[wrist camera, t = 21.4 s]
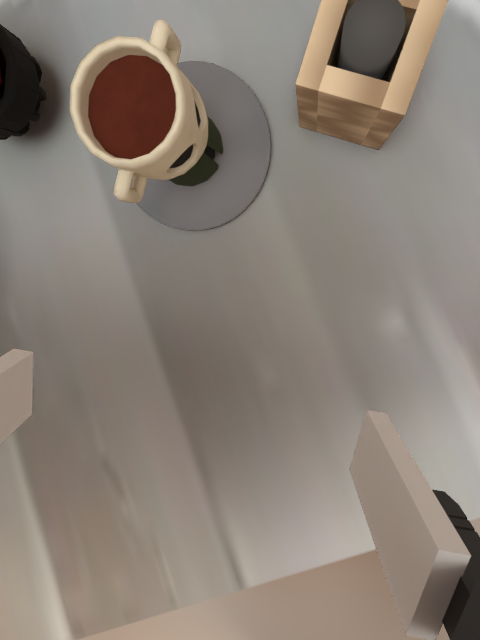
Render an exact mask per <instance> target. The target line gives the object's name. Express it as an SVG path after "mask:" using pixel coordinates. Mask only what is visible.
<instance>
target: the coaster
mask: <svg viewBox="0 0 480 640" xmlns="http://www.w3.org/2000/svg"><path fill="white" fill-rule="evenodd" d="M177 67H178V68H179V69H180V70H181V71H182V72H183V73H184V75H185V76H186V77H187V78H188V79H189V81H190V82H191V83H192V85H193V86H194V87H195V89H196V90H197V91H198V92H199V94H200V96H201V99H202V101H203V103H204V106H205V110H206V114H207V116H208V117H209V118H210V119H212V121H213V122H214V124H215V126H216V127H217V129H218V130H219V132H220V134H221V138H222V145H223V153H222V154H220V153H219V152H217V151H215V158H214V159H213V161H215V162H216V163H217V164H218V165H219V167H218V170H217V171H216V172H215V173H214V174H213V175H212V176H211V177H210V178H209V179H208V180H207V181H205V182H203V183H200V184H198V185H195V186H193V187H192V186H183V185H176V184H174V183H173V182H171V181H170V180H157V179H147V183H146V187H145V191H144V194H143V197H142V199H141V201H140V202H138V203H137V205H138V206H139V207H140V208H141V209H142V210H143V211H144V212H146V213H147V214H148V215H149V216H151V217H152V218H154V219H155V220H157V221H159V222H161V223H163V224H165V225H168V226H170V227H174V228H178V229H184V230H206V229H212V228H215V227H218V226H221V225H223V224H225V223H228V222H230V221H231V220H233V219H234V218H236V217H237V216H239V215H240V214H241V213H242V212H243V211H245V210H246V209H247V208H248V206H249V205H250V204H251V203H252V202H253V201H254V199H255V198H256V196H257V195H258V193H259V191H260V190H261V188H262V186H263V184H264V181H265V178H266V176H267V173H268V169H269V164H270V157H271V138H270V131H269V127H268V123H267V119H266V117H265V114H264V112H263V109H262V107H261V105H260V103H259V101H258V99H257V98H256V96H255V94H254V93H253V92H252V90H251V89H250V88H249V87H248V86H247V85H246V84H245V83H244V82H243V81H242V80H241V79H240V78H239V77H238V76H236V75H235V74H234V73H232V72H230V71H229V70H227V69H225V68H223V67H220V66H218V65H215V64H212V63H207V62H199V61H189V62H181V63H178V65H177ZM133 177H134V174H133ZM132 181H133V178H132ZM131 185H132V182H131ZM130 188H131V186H130Z"/></svg>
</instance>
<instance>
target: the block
mask: <svg viewBox="0 0 480 640" xmlns="http://www.w3.org/2000/svg"><path fill="white" fill-rule="evenodd" d="M356 1H357V0H322V1H321V4H320V7H319V10H318V13H317V17H316V20H315V23H314V26H313V29H312V33H311V36H310V39H309V42H308V46H307V49H306V52H305V55H304V58H303V62H302V65H301V68H300V71H299V74H298V78H297V81H296V84H295V85H296V94H297V104H298V114H299V123H300V127H302V128H306V129H309V130H313V131H316V132H319V133H323V134H326V135H330V136H333V137H336V138H340V139H343V140H347V141H350V142H353V143H357V144H360V145H364V146H367V147H370V148H374V149H377V150H379V149H380V148H381V146H382V145H383V144H384V142H385V141H386V140H387V138H388V137H389V136H390V134H391V133H392V132H393V130H394V129H395V128H396V126H397V125H398V124H399V122H400V121H401V120H402V118H403V117H404V116H405V114H406V111H407V108H408V106H409V103H410V100H411V98H412V95H413V92H414V90H415V87H416V84H417V82H418V79H419V76H420V74H421V71H422V68H423V66H424V63H425V61H426V58H427V55H428V53H429V50H430V47H431V45H432V42H433V39H434V37H435V34H436V31H437V29H438V26H439V23H440V21H441V18H442V15H443V13H444V10H445V8H446V5H447V2H448V0H399V2H400V3H401V5H402V7H403V9H404V12H405V16H406V25H405V31H404V34H403V36H402V39H401V41H400V43H399V45H398V47H397V50H396V52H395V54H394V56H393V59H392V61H391V63H390V65H389V68H388V70H387V72H386V74H385V76H386V78H385V81H383V80H379V79H376V78H372V77H369V76H365V75H361V74H358V73H354V72H350V71H347V70H343V69H340V68H337V65H338V58H339V52H340V45H341V38H342V32H343V25H344V20H345V17H346V15H347V13H348V11H349V9H350V8H351V6H352V5H353V4H354V3H355V2H356Z"/></svg>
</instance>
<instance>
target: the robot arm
mask: <svg viewBox="0 0 480 640" xmlns="http://www.w3.org/2000/svg"><path fill="white" fill-rule="evenodd" d="M32 391H33V352H31V351H25V350H19V349H12V350H11V351H9V352H7V353H6V354H4V355H2V356H1V357H0V444H1V443H2V442H3V441H4V440H5V439H6V438H7V437H8V436H10V435H11V434H12V433H13V432H14V431H15V430H16V429H17V428H18V427H19V426H20V425H21V424H22V423H23V422H24V421H26V420H27V419H28V418H29V417H30V416H31V415H32ZM350 472H351V475H352V478H353V481H354V484H355V487H356V490H357V493H358V496H359V499H360V502H361V505H362V508H363V511H364V514H365V517H366V520H367V523H368V526H369V529H370V532H371V535H372V538H373V541H374V544H375V547H376V550H377V553H378V555H379V558H380V562H381V564H382V567H383V570H384V573H385V576H386V579H387V582H388V585H389V588H390V591H391V594H392V597H393V600H394V603H395V606H396V609H397V612H398V615H399V618H400V621H401V624H402V627H403V630H404V633H405V636H409V637H415V638H421V639H426V640H436V639H437V636H438V634H439V631H440V629H441V627H442V624H444V626H445V629H446V631H447V633H448V636H449V638H450V640H480V537H479V535H478V534H477V532H475V531H474V528H473V526H472V525H471V523H470V522H469V521H468V520H467V517H466V515H465V514H464V512H463V511H462V509H461V508H460V506H459V505H458V504H457V503H456V502H455V501H454V500H453V499H452V498H451V497H450V496H448V495H447V494H446V493H445V492H443V491H437V490H432V489H431V488H430V486H429V484H428V483H427V481H426V479H425V477H424V476H423V474H422V472H421V471H420V469H419V467H418V466H417V464H416V462H415V461H414V459H413V457H412V456H411V454H410V452H409V451H408V449H407V447H406V446H405V444H404V442H403V441H402V439H401V437H400V436H399V434H398V432H397V431H396V429H395V427H394V426H393V424H392V422H391V421H390V419H389V417H388V416H387V414H386V413H382V412H376V411H371V410H366V414H365V417H364V421H363V424H362V428H361V431H360V435H359V438H358V442H357V445H356V449H355V452H354V456H353V459H352V462H351V466H350Z"/></svg>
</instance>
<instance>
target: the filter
mask: <svg viewBox="0 0 480 640" xmlns="http://www.w3.org/2000/svg"><path fill="white" fill-rule="evenodd" d="M41 75H42V71H41V68H40V66H39V64H38V62H37V61H36V60H35V58H34V57H32V56H31V55H30V53H29V52H28V50H27V49H26V47H25V46H24V44H23V43H22V42H21V40H20V39H19V38H18V37H16V36H15V35H14V34H12V33H11V32H10V31H8V30H7V29H6V28H4V27H3V26H2V25H1V24H0V140H3V139H7V138H8V137H10V136H11V135H13V136H22V135H24V134H25V133H26V132H27V131H28V130H29V120H31V121H36V122H37V121H38V120H39V118H40V115H39V113H38V109H39V106H40V101H42V100H45V99H46V92H45V91H44V90H43V89H42V88H40V87H39V82H40V80H41Z"/></svg>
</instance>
